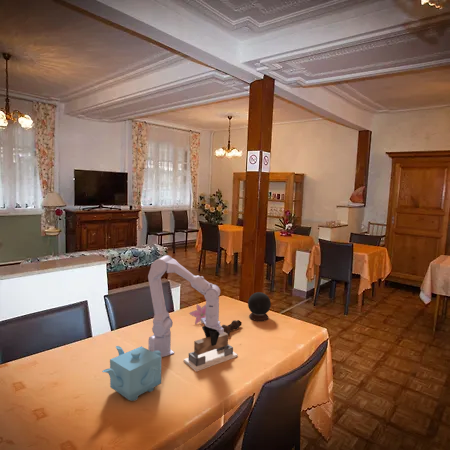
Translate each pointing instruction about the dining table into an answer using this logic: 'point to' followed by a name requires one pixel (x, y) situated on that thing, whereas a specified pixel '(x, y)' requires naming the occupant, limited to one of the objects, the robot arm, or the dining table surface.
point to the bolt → (232, 326)
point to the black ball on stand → (259, 306)
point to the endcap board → (210, 357)
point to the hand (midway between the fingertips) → (211, 343)
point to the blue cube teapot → (135, 372)
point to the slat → (205, 344)
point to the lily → (199, 313)
